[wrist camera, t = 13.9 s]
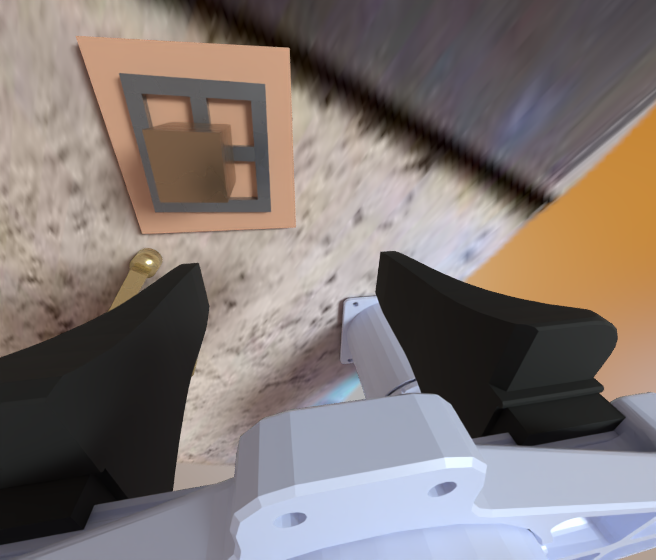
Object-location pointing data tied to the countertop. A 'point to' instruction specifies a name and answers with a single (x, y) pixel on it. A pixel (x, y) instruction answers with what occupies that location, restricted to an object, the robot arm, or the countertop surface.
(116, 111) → the tile
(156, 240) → the countertop surface
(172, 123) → the grey window frame
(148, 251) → the brass bent rod
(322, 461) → the robot arm
